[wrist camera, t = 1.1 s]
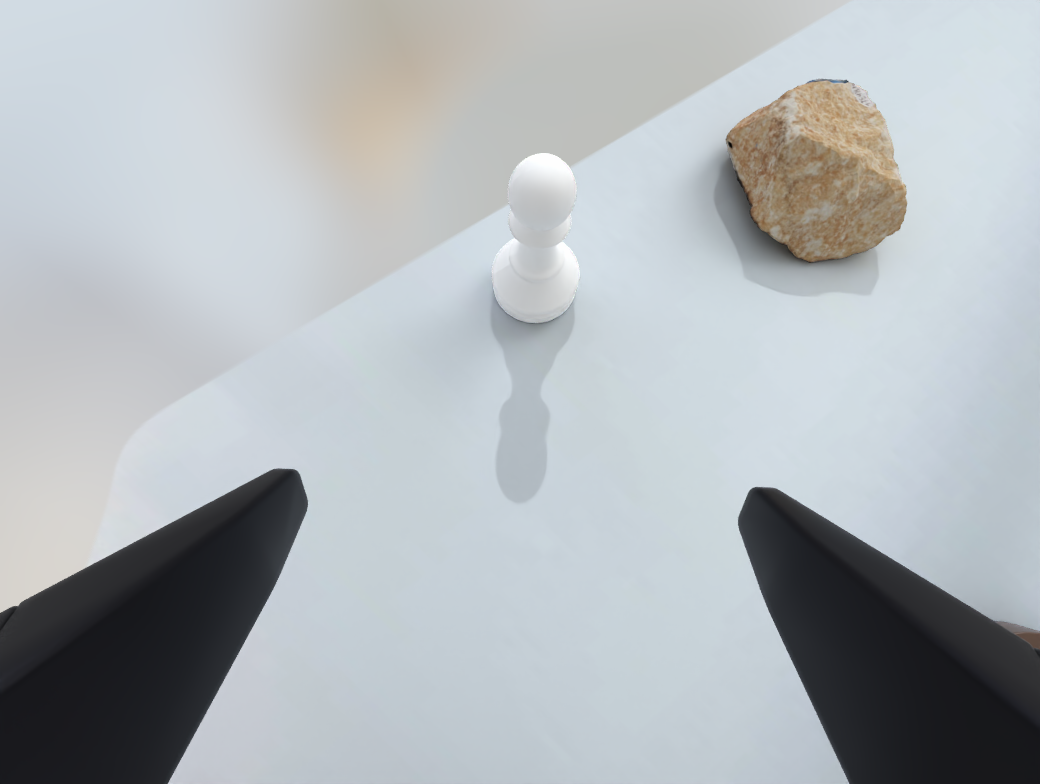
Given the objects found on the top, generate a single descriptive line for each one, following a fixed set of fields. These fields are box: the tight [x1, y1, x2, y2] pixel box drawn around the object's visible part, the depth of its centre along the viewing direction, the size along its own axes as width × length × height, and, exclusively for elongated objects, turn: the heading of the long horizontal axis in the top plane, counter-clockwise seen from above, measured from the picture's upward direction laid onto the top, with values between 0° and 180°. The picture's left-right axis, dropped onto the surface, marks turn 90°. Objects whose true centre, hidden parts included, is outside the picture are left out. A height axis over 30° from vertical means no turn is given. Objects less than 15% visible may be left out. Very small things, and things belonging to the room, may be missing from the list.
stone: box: [726, 79, 907, 263], centre depth 23 cm, size 8×10×4 cm
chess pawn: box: [491, 153, 580, 323], centre depth 19 cm, size 5×5×9 cm
